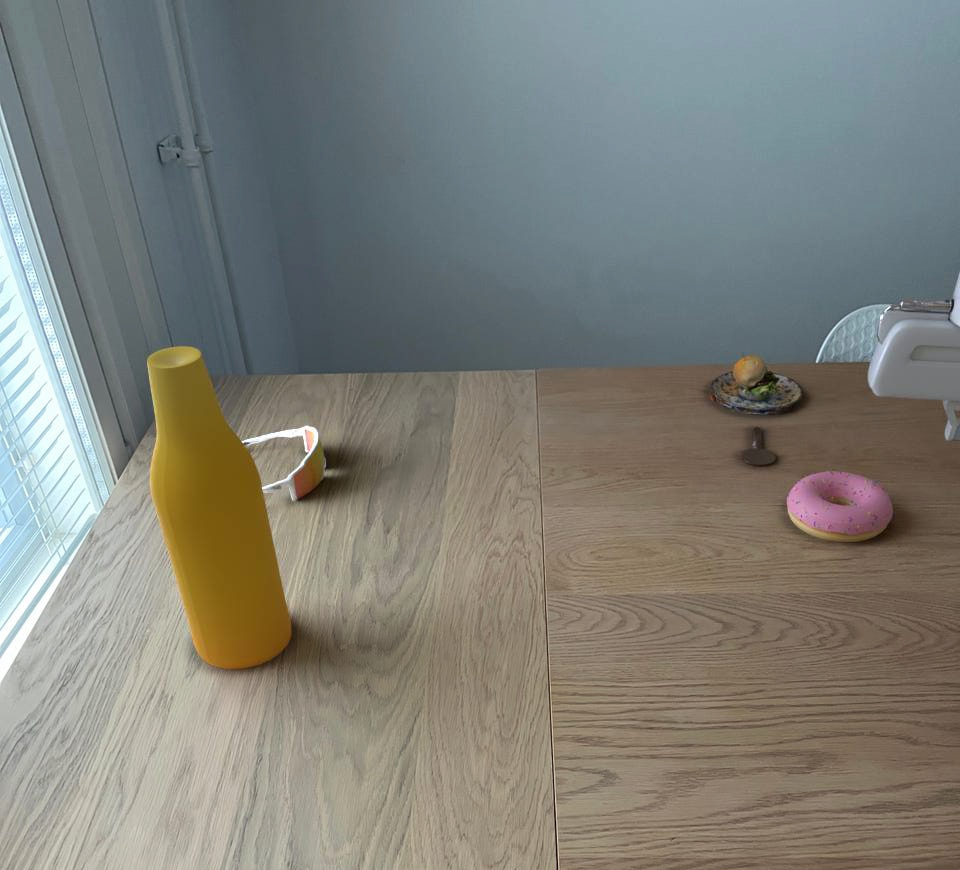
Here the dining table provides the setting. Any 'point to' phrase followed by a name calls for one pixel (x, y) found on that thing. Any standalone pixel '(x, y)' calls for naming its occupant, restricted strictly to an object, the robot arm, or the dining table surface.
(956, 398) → the robot arm
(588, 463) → the dining table surface
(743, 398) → the burger
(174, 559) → the beer bottle
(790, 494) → the doughnut
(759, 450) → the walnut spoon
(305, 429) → the sunglasses
